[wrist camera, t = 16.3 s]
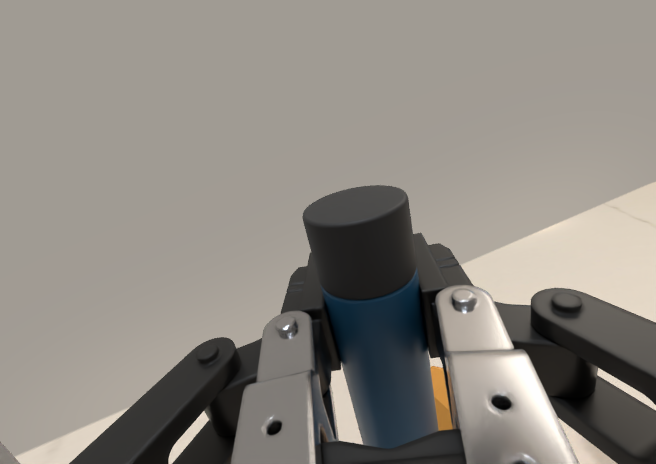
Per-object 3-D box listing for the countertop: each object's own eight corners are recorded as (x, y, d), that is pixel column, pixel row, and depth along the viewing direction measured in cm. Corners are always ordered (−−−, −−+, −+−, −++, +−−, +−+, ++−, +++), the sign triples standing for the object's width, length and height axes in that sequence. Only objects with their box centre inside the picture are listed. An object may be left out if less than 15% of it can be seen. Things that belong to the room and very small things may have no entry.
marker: (401, 609, 14) (294, 233, 7) (393, 532, 16) (307, 196, 9) (466, 607, 13) (418, 210, 7) (447, 529, 16) (398, 178, 9)
